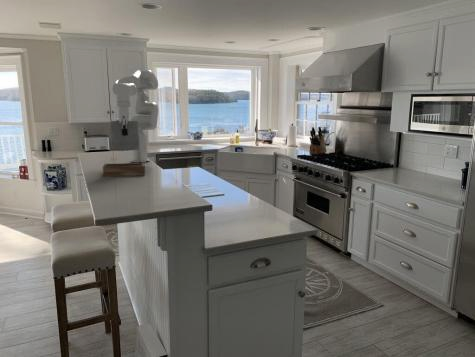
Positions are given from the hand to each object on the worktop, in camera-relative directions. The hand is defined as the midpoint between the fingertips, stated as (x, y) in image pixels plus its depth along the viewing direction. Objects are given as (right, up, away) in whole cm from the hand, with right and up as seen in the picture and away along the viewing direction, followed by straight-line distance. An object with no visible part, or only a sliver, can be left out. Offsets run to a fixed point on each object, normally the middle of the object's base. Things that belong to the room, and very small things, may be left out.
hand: (125, 134), depth 228 cm
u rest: (+2, -24, -8) cm, 26 cm away
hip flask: (0, -9, +2) cm, 10 cm away
